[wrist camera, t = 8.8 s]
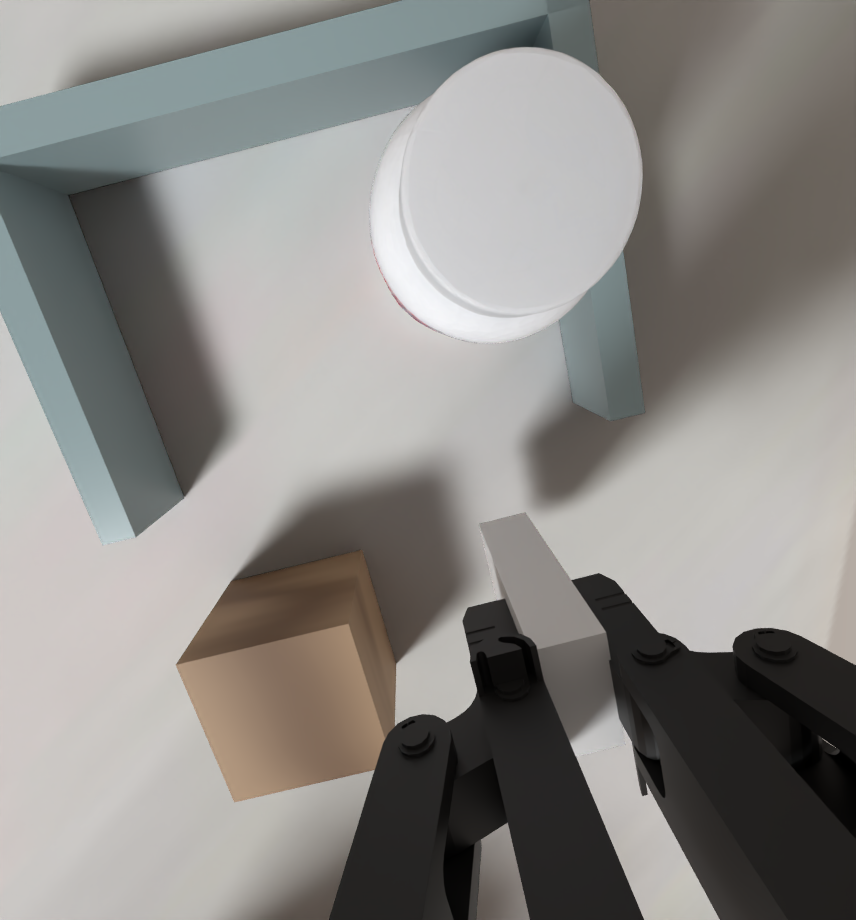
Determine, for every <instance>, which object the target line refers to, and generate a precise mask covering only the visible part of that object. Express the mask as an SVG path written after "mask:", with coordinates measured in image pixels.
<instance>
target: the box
mask: <svg viewBox="0 0 856 920" xmlns="http://www.w3.org/2000/svg"><path fill="white" fill-rule="evenodd" d="M516 47H536V48H544V49H550V50H554V51H558V52H561V53H564V54H567V55H569V56H572V57H574V58H576V59H577V60H579V61H581V62H583V63H584V64H586V65H587V66H589V67H590V68H592V69H593V70H594V71H596V72H597V73H598V74H599V68H598V61H597V53H596V46H595V39H594V31H593V24H592V17H591V9H590V2H589V0H401V1H398V2H394V3H390V4H386V5H382V6H379V7H375V8H371V9H367V10H364V11H360V12H356V13H352V14H348V15H345V16H341V17H337V18H333V19H329V20H326V21H322V22H318V23H314V24H310V25H307V26H303V27H299V28H295V29H292V30H288V31H284V32H280V33H276V34H273V35H269V36H265V37H261V38H257V39H254V40H250V41H246V42H242V43H238V44H235V45H231V46H227V47H223V48H219V49H216V50H212V51H208V52H204V53H201V54H197V55H193V56H189V57H185V58H182V59H178V60H174V61H170V62H166V63H163V64H159V65H155V66H151V67H147V68H144V69H140V70H136V71H132V72H129V73H125V74H121V75H117V76H113V77H110V78H106V79H102V80H98V81H94V82H91V83H87V84H83V85H79V86H75V87H72V88H68V89H64V90H60V91H57V92H53V93H49V94H45V95H41V96H38V97H34V98H30V99H26V100H22V101H19V102H15V103H11V104H7V105H3V106H0V312H1V314H2V317H3V319H4V321H5V323H6V326H7V328H8V330H9V333H10V335H11V337H12V339H13V342H14V344H15V346H16V349H17V351H18V353H19V355H20V358H21V360H22V362H23V365H24V367H25V369H26V372H27V374H28V376H29V378H30V381H31V383H32V385H33V388H34V390H35V392H36V394H37V397H38V399H39V401H40V404H41V406H42V408H43V410H44V413H45V415H46V417H47V420H48V422H49V424H50V426H51V429H52V431H53V433H54V436H55V438H56V440H57V442H58V445H59V447H60V449H61V452H62V454H63V456H64V458H65V461H66V463H67V465H68V468H69V470H70V472H71V474H72V477H73V479H74V481H75V484H76V486H77V488H78V490H79V493H80V495H81V497H82V500H83V502H84V504H85V506H86V509H87V511H88V513H89V516H90V518H91V520H92V522H93V525H94V527H95V529H96V532H97V534H98V536H99V538H100V541H101V543H102V545H106V544H110V543H114V542H119V541H123V540H127V539H131V538H135V537H137V536H138V535H139V534H140V533H142V532H143V531H144V530H145V529H147V528H148V527H149V526H150V525H152V524H153V523H154V522H155V521H156V520H158V519H159V518H160V517H161V516H163V515H164V514H165V513H166V512H168V511H169V510H170V509H171V508H172V507H174V506H175V505H176V504H177V503H179V502H180V501H181V500H182V499H184V496H183V494H182V491H181V488H180V486H179V483H178V480H177V478H176V475H175V473H174V470H173V467H172V465H171V462H170V460H169V457H168V454H167V452H166V449H165V447H164V444H163V441H162V439H161V436H160V434H159V431H158V428H157V426H156V423H155V421H154V418H153V415H152V413H151V410H150V407H149V405H148V402H147V400H146V397H145V394H144V392H143V389H142V387H141V384H140V381H139V379H138V376H137V374H136V371H135V368H134V366H133V363H132V361H131V358H130V355H129V353H128V350H127V348H126V345H125V342H124V340H123V337H122V335H121V332H120V329H119V327H118V324H117V321H116V319H115V316H114V314H113V311H112V308H111V306H110V303H109V301H108V298H107V295H106V293H105V290H104V288H103V285H102V282H101V280H100V277H99V275H98V272H97V269H96V267H95V264H94V262H93V259H92V256H91V254H90V251H89V248H88V246H87V243H86V241H85V238H84V235H83V233H82V230H81V228H80V225H79V222H78V220H77V217H76V215H75V212H74V209H73V207H72V204H71V202H70V199H69V196H68V195H71V194H75V193H79V192H82V191H86V190H90V189H94V188H98V187H102V186H106V185H109V184H113V183H117V182H121V181H125V180H129V179H133V178H136V177H140V176H144V175H148V174H152V173H156V172H160V171H163V170H167V169H171V168H175V167H179V166H183V165H187V164H190V163H194V162H198V161H202V160H206V159H210V158H214V157H217V156H221V155H225V154H229V153H233V152H237V151H241V150H244V149H248V148H252V147H256V146H260V145H264V144H268V143H271V142H275V141H279V140H283V139H287V138H291V137H295V136H298V135H302V134H306V133H310V132H314V131H318V130H322V129H325V128H329V127H333V126H337V125H341V124H345V123H349V122H352V121H356V120H360V119H364V118H368V117H372V116H376V115H379V114H383V113H387V112H391V111H395V110H399V109H402V108H406V107H410V106H414V105H418V104H420V103H421V102H422V101H424V100H425V99H426V98H428V97H429V96H431V95H432V94H434V92H435V91H436V90H437V89H438V88H439V87H440V86H441V85H442V84H443V83H444V82H445V81H446V80H447V79H448V78H449V77H450V76H451V75H452V74H453V73H455V72H456V71H458V70H459V69H461V68H462V67H463V66H465V65H467V64H468V63H470V62H472V61H474V60H475V59H477V58H479V57H482V56H484V55H487V54H489V53H492V52H495V51H499V50H503V49H510V48H516ZM559 323H560V329H561V335H562V341H563V347H564V353H565V358H566V364H567V370H568V376H569V382H570V388H571V393H572V399H573V403H575V404H577V405H579V406H581V407H583V408H585V409H587V410H589V411H591V412H593V413H595V414H597V415H599V416H601V417H603V418H605V419H607V420H609V421H614V420H618V419H622V418H626V417H630V416H635V415H639V414H643V413H645V408H644V401H643V393H642V386H641V378H640V371H639V364H638V356H637V349H636V341H635V334H634V327H633V319H632V312H631V305H630V297H629V290H628V282H627V275H626V268H625V260H624V253H623V251H622V252H621V254H620V256H619V257H618V259H617V260H616V262H615V263H614V264H613V266H612V267H611V268H610V269H609V270H608V271H607V273H606V274H605V275H604V276H603V277H602V278H601V279H600V280H599V281H598V282H597V283H596V284H595V285H594V286H592V287H591V288H590V289H589V290H588V291H587V292H586V294H585V295H584V296H583V297H582V298H581V300H580V301H579V302H578V303H577V304H576V305H575V306H574V307H573V308H572V309H571V310H570V311H569V312H568V313H567V314H565V315H564V316H563V317H562V318H561V319H559Z"/></svg>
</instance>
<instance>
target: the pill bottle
mask: <svg viewBox="0 0 856 920" xmlns="http://www.w3.org/2000/svg"><path fill="white" fill-rule="evenodd" d="M642 180H643V169H642V158H641V150H640V145H639V141H638V137H637V133H636V130H635V127H634V124H633V121H632V119H631V117H630V115H629V113H628V111H627V109H626V107H625V105H624V103H623V102H622V100H621V99H620V97H619V96H618V94H617V93H616V92H615V90H614V89H613V88H612V87H611V86H610V85H609V84H608V83H607V82H606V81H605V80H604V79H603V78H602V76H601V75H600V74H598V73H597V72H596V71H594V70H593V69H592V68H590V67H589V66H587V65H586V64H584V63H583V62H581V61H579V60H577V59H576V58H574V57H572V56H569V55H567V54H564V53H561V52H558V51H554V50H550V49H544V48H536V47H516V48H510V49H503V50H499V51H495V52H492V53H489V54H487V55H484V56H482V57H479V58H477V59H475V60H474V61H472V62H470V63H468V64H467V65H465V66H463V67H462V68H461V69H459V70H458V71H456V72H455V73H453V74H452V75H451V76H450V77H449V78H448V79H447V80H446V81H445V82H444V83H443V84H442V85H441V86H440V87H439V88H438V89H437V90H436V91H435V92H434V94H432V95H431V96H429V97H428V98H426V99H425V100H424V101H422V102H421V103H420V104H419V105H418V106H417V107H415V108H414V109H413V110H412V111H411V112H410V113H409V114H408V115H407V116H406V118H405V119H404V120H403V121H402V122H401V124H400V125H399V126H398V128H397V129H396V130H395V132H394V133H393V135H392V136H391V138H390V140H389V142H388V144H387V145H386V147H385V149H384V151H383V154H382V156H381V159H380V161H379V164H378V167H377V170H376V173H375V176H374V181H373V185H372V191H371V197H370V210H369V219H370V234H371V242H372V246H373V250H374V255H375V258H376V262H377V264H378V266H379V269H380V271H381V274H382V275H383V278H384V280H385V282H386V283H387V286H388V288H389V290H390V291H391V293H392V295H393V296H394V298H395V299H396V301H397V302H398V304H399V305H400V306H401V307H402V308H403V309H404V310H405V311H406V312H407V313H408V314H409V315H410V316H411V317H413V318H414V319H415V320H417V321H418V322H419V323H421V324H423V325H425V326H426V327H428V328H430V329H432V330H434V331H437V332H439V333H442V334H444V335H447V336H450V337H453V338H455V339H459V340H463V341H468V342H474V343H503V342H510V341H514V340H518V339H522V338H525V337H527V336H530V335H533V334H535V333H537V332H539V331H541V330H543V329H545V328H547V327H549V326H550V325H552V324H554V323H555V322H557V321H558V320H559V319H561V318H562V317H563V316H564V315H565V314H567V313H568V312H569V311H570V310H571V309H572V308H573V307H574V306H575V305H576V304H577V303H578V302H579V301H580V300H581V298H582V297H583V296H584V295H585V294H586V292H587V291H588V290H589V289H590V288H591V287H592V286H594V285H595V284H596V283H597V282H598V281H599V280H600V279H601V278H602V277H603V276H604V275H605V274H606V273H607V271H608V270H609V269H610V268H611V267H612V266H613V264H614V263H615V262H616V260H617V259H618V257H619V256H620V254H621V252H622V251H623V249H624V247H625V245H626V243H627V241H628V239H629V237H630V234H631V232H632V230H633V228H634V224H635V221H636V218H637V215H638V211H639V207H640V201H641V193H642Z"/></svg>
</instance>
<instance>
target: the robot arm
mask: <svg viewBox="0 0 856 920" xmlns="http://www.w3.org/2000/svg"><path fill="white" fill-rule="evenodd" d="M479 528H480V532H481V537H482V541H483V545H484V549H485V554H486V558H487V562H488V566H489V571H490V575H491V579H492V584H493V588H494V592H495V596H496V600H497V601H493V602H489V603H485V604H481V605H477V606H473V607H469V608H467V611H466V613H465V616H464V618H463V625H464V629H465V634H466V638H467V643H468V647H469V651H470V656H471V657H470V664H471V667H472V671H473V675H474V679H475V683H476V687H477V694H476V697H475V699H474V701H473V703H472V704H471V706H470V707H469V708H468V709H467V710H466V711H465V712H464V713H462V714H461V715H459V716H458V717H456V718H454V719H453V720H451V721H449V722H447V723H446V722H445V721H444V720H443V719H441V718H439V717H437V716H435V715H425V714H422V715H418V716H413V717H409V718H408V719H406V720H404V721H402V722H400V723H398V724H397V725H396V726H395V727H394V728H393V729H392V730H391V731H390V732H389V733H388V735H387V737H386V739H385V740H384V742H383V745H382V748H381V751H380V755H379V758H378V761H377V764H376V768H375V771H374V774H373V777H372V781H371V784H370V787H369V791H368V794H367V797H366V800H365V804H364V807H363V810H362V813H361V817H360V820H359V823H358V826H357V830H356V833H355V836H354V839H353V843H352V846H351V849H350V853H349V856H348V859H347V862H346V866H345V869H344V872H343V875H342V879H341V882H340V885H339V888H338V892H337V895H336V898H335V901H334V905H333V908H332V911H331V915H330V918H329V920H476V914H477V901H478V887H479V874H480V861H481V839H482V838H484V837H485V836H487V835H489V834H490V833H492V832H493V831H495V830H496V829H498V828H499V827H501V826H503V825H504V824H506V823H507V822H508V825H509V829H510V834H511V838H512V843H513V847H514V851H515V856H516V860H517V864H518V869H519V873H520V877H521V882H522V886H523V891H524V895H525V899H526V904H527V908H528V912H529V917H530V920H644V919H643V916H642V914H641V911H640V909H639V907H638V904H637V902H636V899H635V897H634V895H633V892H632V890H631V887H630V885H629V883H628V880H627V878H626V876H625V873H624V871H623V868H622V866H621V864H620V861H619V859H618V856H617V854H616V852H615V849H614V847H613V844H612V842H611V840H610V837H609V835H608V832H607V830H606V828H605V825H604V823H603V821H602V818H601V816H600V813H599V811H598V809H597V806H596V804H595V801H594V799H593V797H592V794H591V792H590V789H589V787H588V785H587V782H586V780H585V777H584V775H583V773H582V770H581V768H580V766H579V763H578V761H577V758H576V757H578V756H582V755H586V754H590V753H594V752H598V751H602V750H606V749H610V748H614V747H618V746H622V745H626V743H625V738H624V732H623V727H624V728H625V730H626V732H627V734H628V736H629V737H630V739H631V741H632V745H633V751H634V757H635V763H636V769H637V775H638V781H639V786H640V790H641V793H642V796H644V795H648V793H647V787H646V783H647V785H648V787H649V789H650V791H651V793H652V794H653V796H654V798H655V800H656V802H657V804H658V806H659V807H660V809H661V811H662V813H663V815H664V817H665V819H666V820H667V822H668V824H669V826H670V828H671V830H672V832H673V833H674V835H675V837H676V839H677V841H678V843H679V845H680V846H681V848H682V850H683V852H684V854H685V856H686V858H687V859H688V861H689V863H690V865H691V867H692V869H693V871H694V872H695V874H696V876H697V878H698V880H699V882H700V884H701V885H702V887H703V889H704V891H705V893H706V895H707V897H708V898H709V900H710V902H711V904H712V906H713V908H714V910H715V911H716V913H717V915H718V917H719V919H720V920H856V665H854V664H852V663H850V662H848V661H847V660H845V659H843V658H841V657H839V656H837V655H835V654H833V653H832V652H830V651H828V650H826V649H824V648H822V647H820V646H818V645H817V644H815V643H813V642H811V641H809V640H807V639H805V638H803V637H802V636H799V635H796V634H794V633H791V632H789V631H785V630H779V629H774V628H757V629H753V630H749V631H745V632H743V633H742V634H740V635H739V636H738V637H736V638H735V641H734V644H733V652H717V653H705V652H694V651H689V649H688V648H687V647H686V646H685V645H684V644H683V643H681V642H680V641H679V640H677V639H676V638H674V637H671V636H668V635H666V634H661V633H658V632H657V631H656V629H655V628H654V627H653V626H652V625H651V623H650V622H649V621H648V620H647V619H646V617H645V616H644V615H643V614H642V613H641V612H640V610H639V609H638V608H637V607H636V606H635V604H634V603H632V601H631V600H630V598H629V597H628V596H627V595H626V594H625V593H624V591H623V590H622V589H621V588H620V586H619V585H618V584H617V583H616V582H615V581H614V580H612V579H610V578H608V577H606V576H604V575H602V574H599V573H598V574H594V575H590V576H586V577H582V578H578V579H575V580H571V579H570V578H569V576H568V575H567V573H566V572H565V571H564V569H563V568H562V566H561V565H560V563H559V562H558V560H557V559H556V557H555V556H554V554H553V553H552V551H551V550H550V548H549V547H548V545H547V544H546V542H545V541H544V539H543V538H542V536H541V535H540V533H539V532H538V530H537V529H536V527H535V526H534V525H533V523H532V522H531V520H530V519H529V517H528V516H527V514H526V513H525V512H524V513H520V514H516V515H512V516H508V517H505V518H501V519H497V520H493V521H489V522H485V523H481V524H479ZM622 725H623V726H622ZM822 738H823V739H824V740H826V741H828V742H829V743H830V744H832V745H833V746H834V747H833V746H832V745H830V744H829V743H827V742H826V741H824V740H823V739H822ZM835 747H836V748H835Z"/></svg>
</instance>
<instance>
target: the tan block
mask: <svg viewBox="0 0 856 920" xmlns="http://www.w3.org/2000/svg"><path fill="white" fill-rule="evenodd" d="M176 666H177V669H178V671H179V674H180V676H181V678H182V681H183V683H184V685H185V688H186V690H187V692H188V695H189V697H190V699H191V702H192V704H193V706H194V709H195V711H196V713H197V716H198V718H199V720H200V723H201V725H202V727H203V730H204V732H205V734H206V737H207V739H208V741H209V744H210V746H211V749H212V751H213V753H214V756H215V758H216V760H217V763H218V765H219V767H220V770H221V772H222V774H223V777H224V779H225V781H226V784H227V786H228V788H229V791H230V793H231V795H232V798H233V800H234V802H238V801H242V800H246V799H251V798H255V797H259V796H264V795H268V794H272V793H277V792H281V791H285V790H290V789H294V788H298V787H303V786H307V785H311V784H315V783H320V782H324V781H328V780H333V779H337V778H341V777H346V776H350V775H354V774H359V773H363V772H367V771H372V770H375V768H376V764H377V761H378V758H379V755H380V751H381V748H382V745H383V742H384V740H385V739H386V737H387V735H388V733H389V732H390V731H391V730H392V729H393V728H394V727H395V691H396V662H395V658H394V655H393V651H392V648H391V645H390V641H389V638H388V635H387V631H386V628H385V625H384V621H383V618H382V615H381V611H380V608H379V605H378V601H377V598H376V594H375V591H374V588H373V584H372V581H371V578H370V574H369V571H368V568H367V564H366V561H365V558H364V554H363V551H362V550H359V551H355V552H351V553H346V554H342V555H338V556H334V557H330V558H326V559H322V560H317V561H313V562H309V563H305V564H301V565H297V566H293V567H288V568H284V569H280V570H276V571H272V572H268V573H264V574H259V575H255V576H251V577H247V578H243V579H239V580H235V581H231V582H230V584H229V585H228V587H227V588H226V590H225V591H224V593H223V594H222V596H221V597H220V599H219V600H218V602H217V603H216V605H215V606H214V608H213V609H212V611H211V612H210V614H209V615H208V617H207V619H206V620H205V622H204V623H203V625H202V626H201V628H200V629H199V631H198V632H197V634H196V635H195V637H194V638H193V640H192V641H191V643H190V644H189V646H188V647H187V649H186V650H185V652H184V653H183V655H182V656H181V658H180V659H179V661H178V662H177V664H176Z"/></svg>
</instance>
